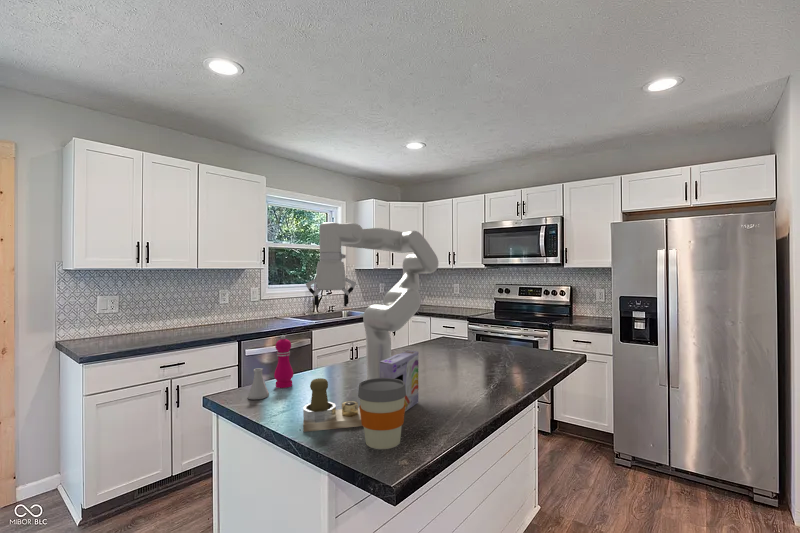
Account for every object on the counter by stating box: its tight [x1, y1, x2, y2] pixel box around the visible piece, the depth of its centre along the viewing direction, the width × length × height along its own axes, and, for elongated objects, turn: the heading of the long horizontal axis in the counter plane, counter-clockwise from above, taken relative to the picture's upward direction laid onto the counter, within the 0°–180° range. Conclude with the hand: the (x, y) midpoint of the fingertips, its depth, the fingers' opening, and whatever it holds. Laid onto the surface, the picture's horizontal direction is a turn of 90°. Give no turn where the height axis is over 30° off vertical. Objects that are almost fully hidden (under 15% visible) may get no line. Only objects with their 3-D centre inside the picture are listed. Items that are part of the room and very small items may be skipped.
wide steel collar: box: [302, 401, 337, 423], centre depth 119 cm, size 9×9×3 cm
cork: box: [309, 377, 329, 411], centre depth 119 cm, size 6×6×11 cm
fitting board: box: [302, 407, 363, 433], centre depth 120 cm, size 18×10×2 cm, turn 102°
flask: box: [247, 367, 270, 400], centre depth 145 cm, size 7×7×10 cm
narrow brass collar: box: [341, 400, 359, 417], centre depth 121 cm, size 5×5×3 cm
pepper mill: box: [273, 334, 294, 389], centre depth 159 cm, size 7×7×20 cm
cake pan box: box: [380, 349, 419, 413], centre depth 128 cm, size 19×5×18 cm, turn 151°
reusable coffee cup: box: [357, 378, 406, 450], centre depth 105 cm, size 13×13×15 cm
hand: (331, 306), depth 141 cm, fingers open, 9 cm apart
